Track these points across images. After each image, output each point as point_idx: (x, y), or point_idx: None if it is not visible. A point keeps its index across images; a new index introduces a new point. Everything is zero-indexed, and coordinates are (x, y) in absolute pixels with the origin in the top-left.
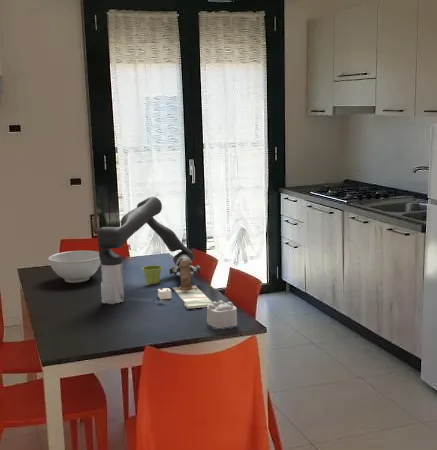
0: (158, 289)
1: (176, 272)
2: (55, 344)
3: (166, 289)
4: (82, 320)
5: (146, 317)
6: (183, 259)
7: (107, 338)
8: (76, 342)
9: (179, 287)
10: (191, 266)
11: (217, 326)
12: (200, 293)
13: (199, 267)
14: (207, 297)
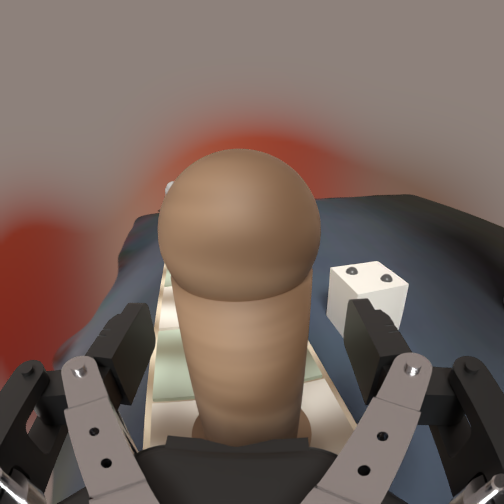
0: (401, 280)
1: (348, 305)
2: (435, 205)
3: (361, 279)
4: (476, 238)
5: (361, 239)
6: (256, 151)
7: (382, 207)
8: (415, 205)
9: (307, 422)
10: (98, 403)
11: None
12: (172, 340)
13: (16, 377)
14: (163, 296)
